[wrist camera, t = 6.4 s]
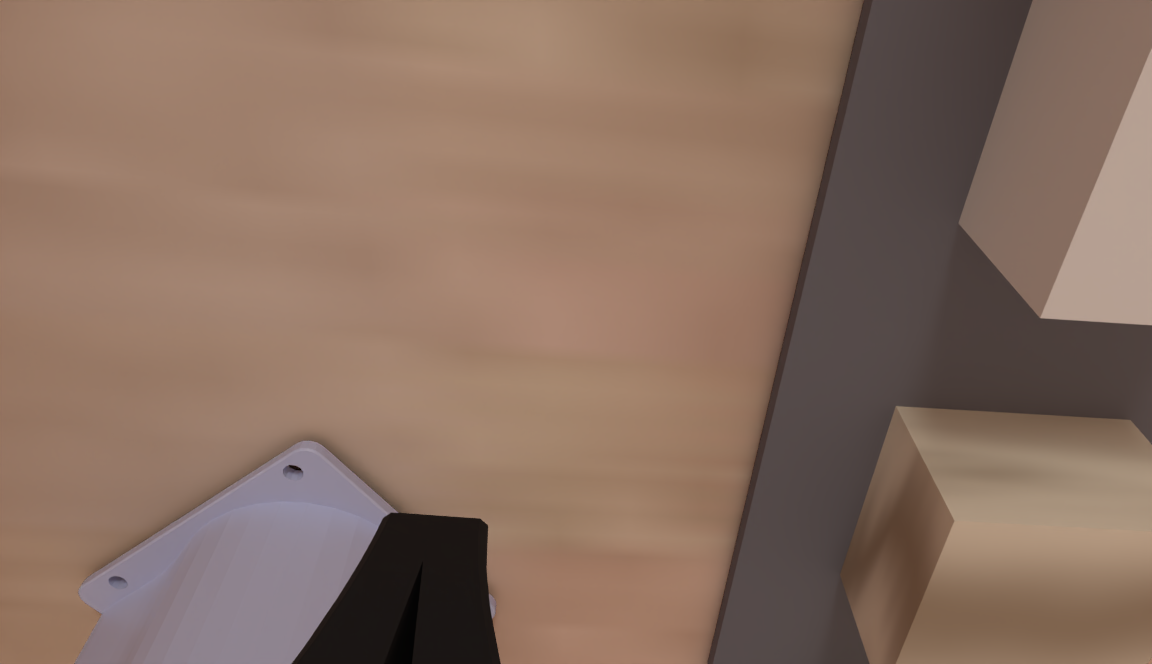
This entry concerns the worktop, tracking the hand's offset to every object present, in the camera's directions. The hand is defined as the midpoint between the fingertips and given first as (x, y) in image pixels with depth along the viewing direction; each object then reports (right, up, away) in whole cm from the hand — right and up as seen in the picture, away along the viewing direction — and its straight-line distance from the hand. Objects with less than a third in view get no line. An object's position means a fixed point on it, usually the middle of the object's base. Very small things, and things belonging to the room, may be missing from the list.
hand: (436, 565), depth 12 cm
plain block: (+13, -1, +11) cm, 17 cm away
